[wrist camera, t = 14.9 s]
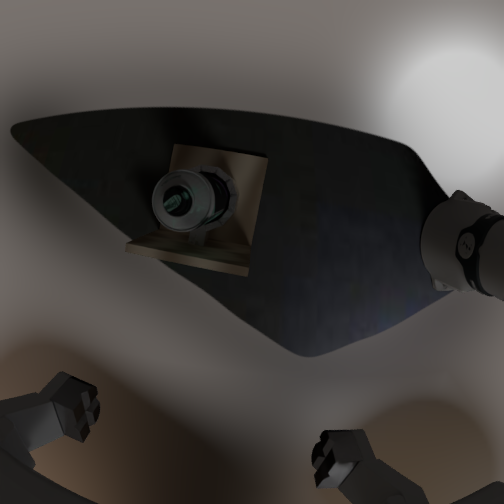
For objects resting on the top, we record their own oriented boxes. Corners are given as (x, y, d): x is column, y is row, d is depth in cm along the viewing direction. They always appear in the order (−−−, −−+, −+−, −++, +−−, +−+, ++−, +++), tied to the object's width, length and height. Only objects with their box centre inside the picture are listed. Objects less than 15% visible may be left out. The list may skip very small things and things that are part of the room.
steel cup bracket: (244, 174, 39) (242, 171, 34) (231, 242, 41) (227, 250, 36) (189, 165, 39) (178, 161, 33) (177, 232, 41) (165, 239, 35)
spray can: (237, 189, 40) (221, 185, 20) (220, 222, 41) (188, 250, 21) (204, 172, 39) (158, 154, 20) (187, 205, 40) (129, 217, 21)
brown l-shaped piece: (267, 159, 40) (273, 144, 27) (249, 251, 43) (247, 276, 30) (176, 144, 39) (144, 127, 27) (160, 234, 42) (125, 251, 30)
